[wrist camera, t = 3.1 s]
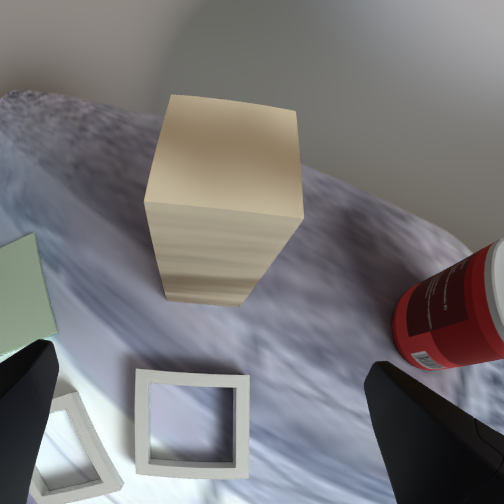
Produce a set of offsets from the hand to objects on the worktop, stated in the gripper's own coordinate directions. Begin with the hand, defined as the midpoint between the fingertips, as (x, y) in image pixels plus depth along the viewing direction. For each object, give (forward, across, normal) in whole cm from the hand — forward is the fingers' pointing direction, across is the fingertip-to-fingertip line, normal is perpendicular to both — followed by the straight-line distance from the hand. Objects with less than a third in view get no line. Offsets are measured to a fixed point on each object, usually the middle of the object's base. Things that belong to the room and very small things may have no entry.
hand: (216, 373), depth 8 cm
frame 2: (+7, 0, +12) cm, 13 cm away
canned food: (+12, -18, +7) cm, 23 cm away
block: (+14, 0, +4) cm, 15 cm away
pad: (+12, +16, +7) cm, 20 cm away
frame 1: (+4, +10, +14) cm, 18 cm away
